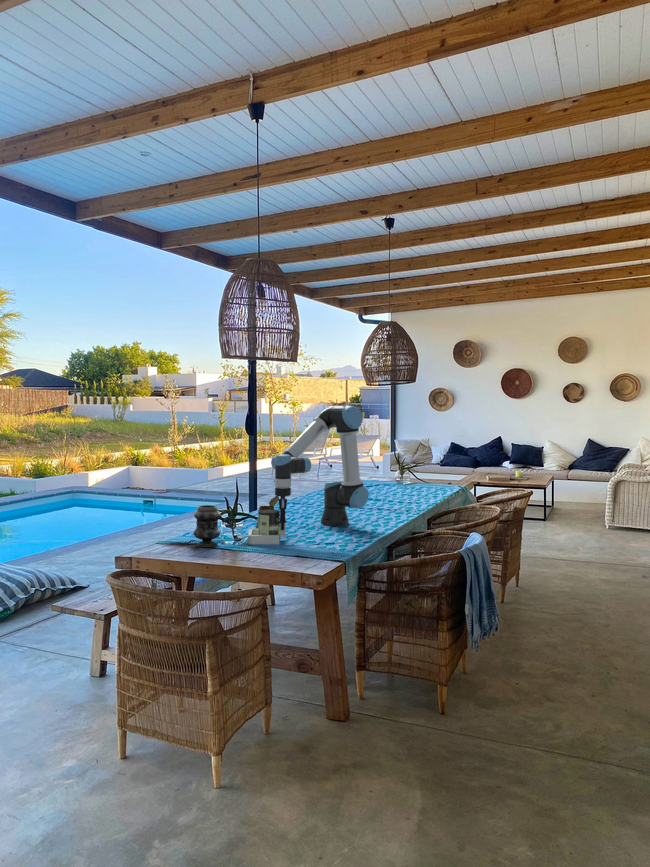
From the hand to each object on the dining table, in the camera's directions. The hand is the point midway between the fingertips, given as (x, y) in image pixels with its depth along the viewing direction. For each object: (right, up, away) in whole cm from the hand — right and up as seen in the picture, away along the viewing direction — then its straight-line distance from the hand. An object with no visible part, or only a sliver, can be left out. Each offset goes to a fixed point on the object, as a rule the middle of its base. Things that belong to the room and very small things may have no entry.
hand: (282, 536), depth 295 cm
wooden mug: (-9, -1, +27) cm, 28 cm away
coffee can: (-7, -2, 0) cm, 7 cm away
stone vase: (-34, -2, -11) cm, 36 cm away
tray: (-8, -2, 0) cm, 8 cm away
